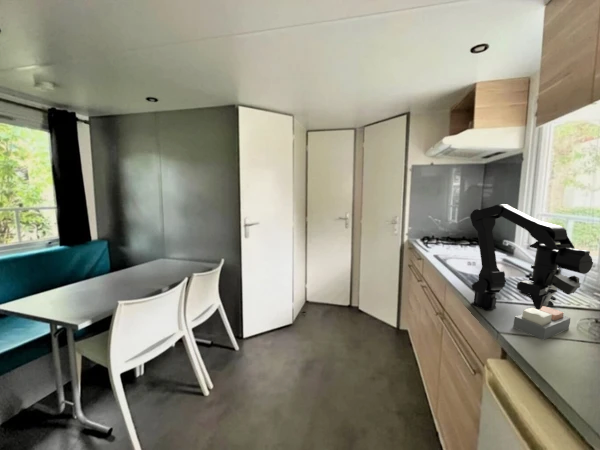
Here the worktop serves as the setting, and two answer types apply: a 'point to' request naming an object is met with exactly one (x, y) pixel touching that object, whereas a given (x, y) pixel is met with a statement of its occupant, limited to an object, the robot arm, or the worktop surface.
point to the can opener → (549, 301)
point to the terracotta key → (553, 312)
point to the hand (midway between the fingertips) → (537, 309)
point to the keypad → (541, 327)
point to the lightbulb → (549, 296)
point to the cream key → (537, 316)
